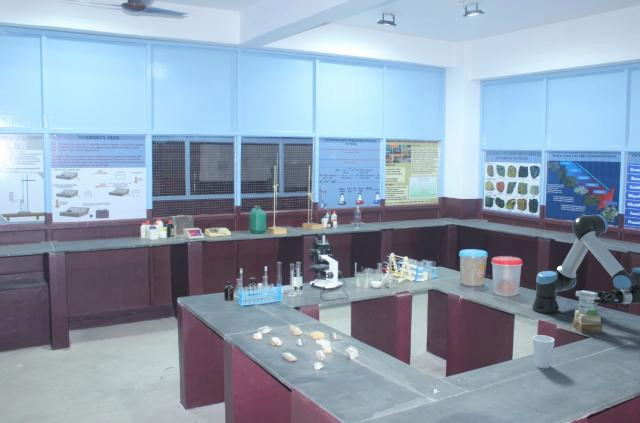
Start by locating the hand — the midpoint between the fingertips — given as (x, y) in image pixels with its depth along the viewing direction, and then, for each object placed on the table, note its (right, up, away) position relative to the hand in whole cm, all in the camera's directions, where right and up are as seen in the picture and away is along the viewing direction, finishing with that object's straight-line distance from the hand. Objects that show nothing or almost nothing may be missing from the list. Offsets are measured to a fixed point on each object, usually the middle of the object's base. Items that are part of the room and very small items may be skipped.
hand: (581, 297), depth 308 cm
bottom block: (+4, -19, +2) cm, 19 cm away
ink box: (+4, -9, +1) cm, 10 cm away
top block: (+4, -14, +2) cm, 14 cm away
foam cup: (-40, -25, -46) cm, 66 cm away
